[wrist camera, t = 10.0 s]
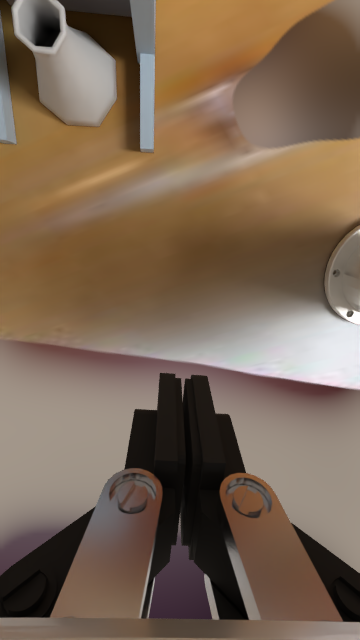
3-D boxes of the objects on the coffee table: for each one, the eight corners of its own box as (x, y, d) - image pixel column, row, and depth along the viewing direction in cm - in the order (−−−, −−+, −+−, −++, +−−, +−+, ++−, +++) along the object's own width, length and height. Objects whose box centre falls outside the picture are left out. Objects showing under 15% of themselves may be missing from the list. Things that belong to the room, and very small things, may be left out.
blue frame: (155, -9, 26) (155, -258, 12) (153, 152, 30) (151, 107, 16) (-20, -27, 25) (-248, -327, 11) (3, 143, 29) (-140, 86, 15)
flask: (106, 141, 30) (83, 112, 20) (28, 109, 28) (-35, 62, 19) (128, 54, 27) (115, -24, 18) (45, 14, 26) (-16, -92, 17)
